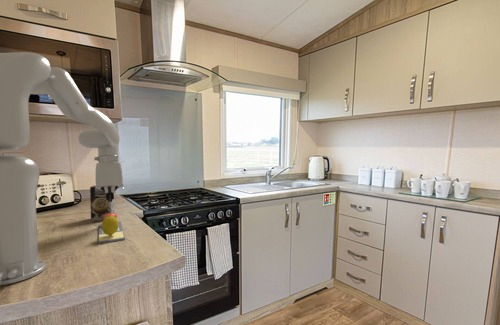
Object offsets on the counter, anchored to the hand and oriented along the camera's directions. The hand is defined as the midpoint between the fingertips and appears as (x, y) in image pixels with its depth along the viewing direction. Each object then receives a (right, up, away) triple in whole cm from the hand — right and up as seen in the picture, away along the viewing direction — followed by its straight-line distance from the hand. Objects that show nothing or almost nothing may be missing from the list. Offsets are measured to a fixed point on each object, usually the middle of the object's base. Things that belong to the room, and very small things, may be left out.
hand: (110, 201), depth 109 cm
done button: (0, -7, 0) cm, 7 cm away
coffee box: (-10, -11, +12) cm, 19 cm away
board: (+5, -11, -8) cm, 15 cm away
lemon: (+9, -11, -15) cm, 21 cm away
